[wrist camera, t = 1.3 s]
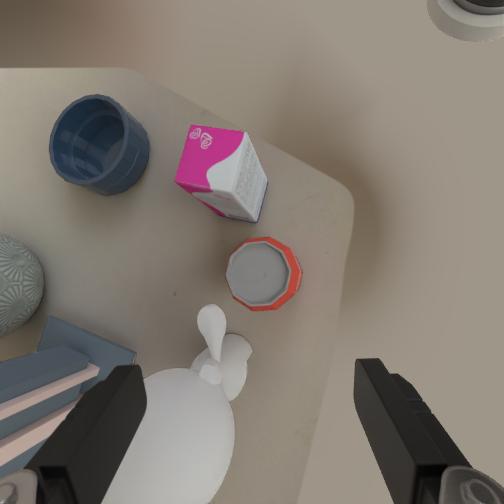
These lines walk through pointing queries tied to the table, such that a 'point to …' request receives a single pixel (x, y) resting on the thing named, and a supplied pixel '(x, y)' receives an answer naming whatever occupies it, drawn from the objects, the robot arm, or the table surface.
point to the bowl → (98, 145)
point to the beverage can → (263, 274)
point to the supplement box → (223, 172)
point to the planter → (18, 284)
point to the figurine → (186, 424)
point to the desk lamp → (49, 387)
